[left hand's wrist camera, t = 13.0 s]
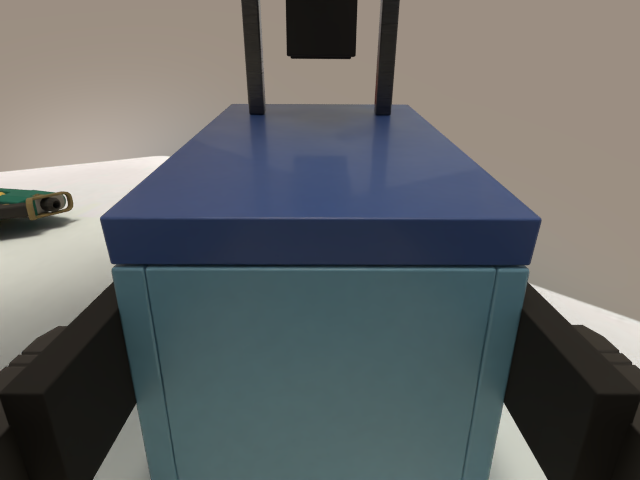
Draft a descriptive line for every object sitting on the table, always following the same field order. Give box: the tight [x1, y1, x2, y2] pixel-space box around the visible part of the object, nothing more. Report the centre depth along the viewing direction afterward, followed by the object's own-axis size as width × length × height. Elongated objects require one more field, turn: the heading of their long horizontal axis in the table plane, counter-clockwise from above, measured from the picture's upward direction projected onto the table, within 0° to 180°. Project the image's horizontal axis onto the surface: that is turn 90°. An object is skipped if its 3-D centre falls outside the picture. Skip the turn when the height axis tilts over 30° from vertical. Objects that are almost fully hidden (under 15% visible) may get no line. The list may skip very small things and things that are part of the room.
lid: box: [100, 0, 541, 265], centre depth 14 cm, size 15×9×9 cm, turn 0°
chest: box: [112, 264, 529, 480], centre depth 17 cm, size 14×9×9 cm, turn 0°
